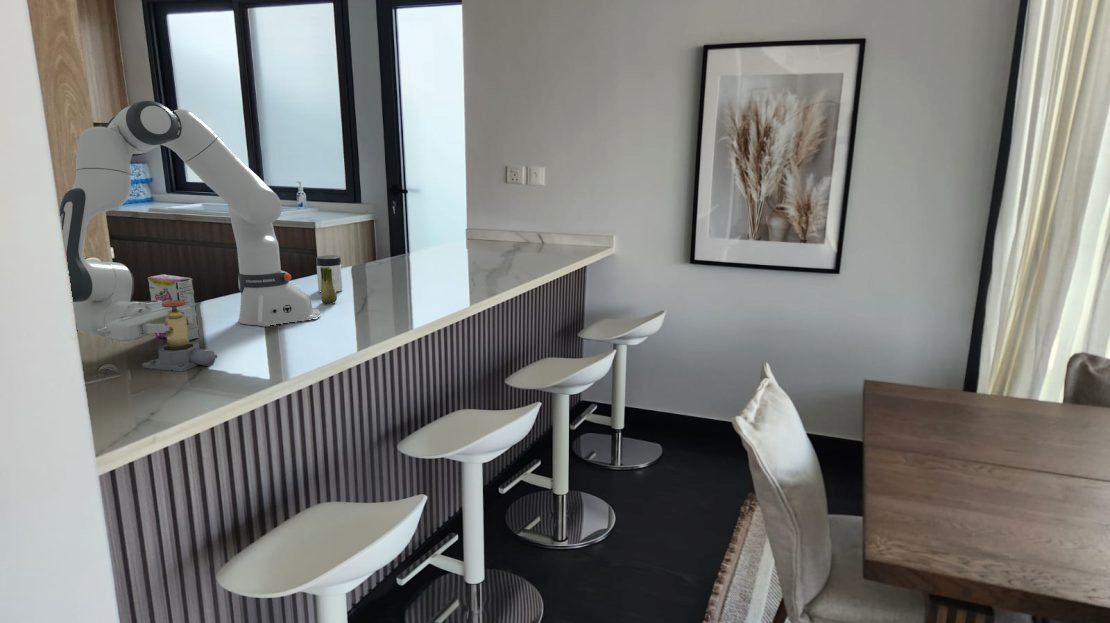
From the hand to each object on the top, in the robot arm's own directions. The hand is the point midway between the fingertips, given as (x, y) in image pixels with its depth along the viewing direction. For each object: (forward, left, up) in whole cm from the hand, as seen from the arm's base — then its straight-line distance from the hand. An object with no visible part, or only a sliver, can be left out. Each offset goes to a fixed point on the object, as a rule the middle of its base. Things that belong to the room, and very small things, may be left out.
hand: (178, 324), depth 159 cm
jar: (-42, -72, -9) cm, 84 cm away
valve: (+1, -1, -8) cm, 8 cm away
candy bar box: (+3, -25, -9) cm, 26 cm away
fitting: (0, 0, -9) cm, 9 cm away
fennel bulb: (-39, -52, -9) cm, 66 cm away
